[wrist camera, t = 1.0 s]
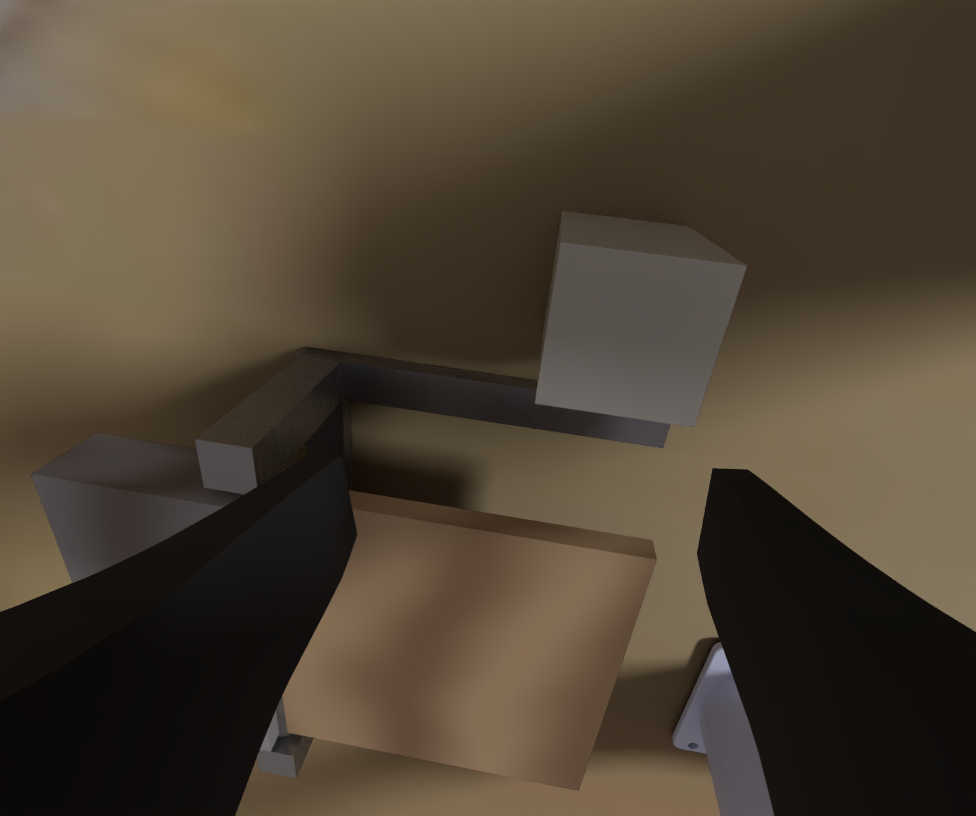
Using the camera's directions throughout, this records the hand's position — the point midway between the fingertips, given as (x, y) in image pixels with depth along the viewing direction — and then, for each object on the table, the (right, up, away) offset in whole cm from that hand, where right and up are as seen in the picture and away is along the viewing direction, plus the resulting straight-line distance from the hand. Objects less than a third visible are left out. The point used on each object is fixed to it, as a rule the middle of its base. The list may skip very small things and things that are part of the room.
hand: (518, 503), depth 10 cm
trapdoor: (-5, -6, +9) cm, 12 cm away
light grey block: (+3, +6, +7) cm, 10 cm away
